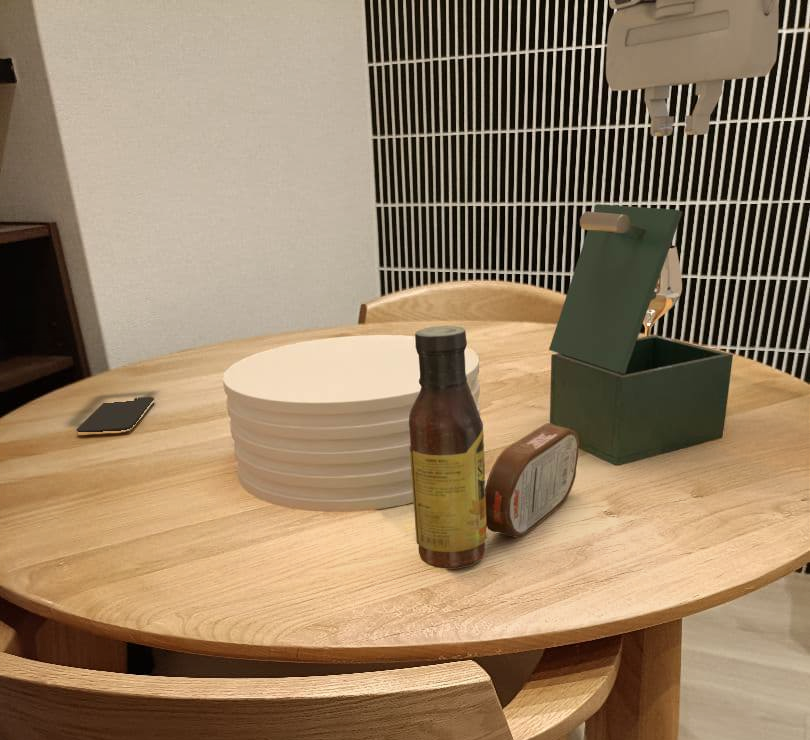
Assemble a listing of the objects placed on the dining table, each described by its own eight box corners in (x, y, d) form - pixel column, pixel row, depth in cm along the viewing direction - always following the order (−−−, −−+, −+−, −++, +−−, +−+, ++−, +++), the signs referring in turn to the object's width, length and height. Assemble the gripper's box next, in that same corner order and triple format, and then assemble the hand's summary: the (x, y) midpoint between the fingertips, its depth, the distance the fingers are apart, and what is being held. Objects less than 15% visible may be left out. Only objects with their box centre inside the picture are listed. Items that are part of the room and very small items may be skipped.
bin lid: (601, 206, 91) (569, 192, 89) (682, 212, 81) (648, 196, 78) (553, 351, 96) (521, 342, 93) (624, 374, 85) (590, 364, 83)
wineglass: (636, 366, 125) (645, 242, 117) (684, 374, 120) (697, 244, 112) (604, 378, 120) (611, 249, 112) (653, 387, 115) (664, 252, 107)
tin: (554, 489, 85) (556, 410, 81) (582, 494, 83) (586, 415, 79) (479, 546, 74) (478, 459, 70) (510, 554, 72) (511, 465, 69)
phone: (156, 396, 122) (129, 427, 108) (157, 401, 122) (130, 433, 109) (106, 399, 122) (73, 431, 108) (107, 404, 122) (74, 437, 109)
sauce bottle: (497, 565, 71) (496, 334, 62) (429, 578, 69) (417, 344, 61) (471, 534, 76) (466, 318, 68) (407, 545, 75) (393, 327, 66)
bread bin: (649, 410, 106) (655, 334, 101) (723, 437, 96) (733, 354, 91) (549, 434, 100) (551, 354, 96) (616, 465, 90) (621, 377, 85)
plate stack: (450, 413, 109) (448, 326, 104) (510, 493, 84) (510, 384, 79) (239, 436, 106) (225, 347, 101) (236, 526, 81) (218, 415, 76)
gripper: (806, -47, 71) (782, 130, 77) (646, -8, 88) (637, 136, 94) (753, -49, 69) (732, 134, 75) (598, -9, 85) (592, 139, 92)
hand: (678, 135), depth 85 cm, fingers open, 4 cm apart
